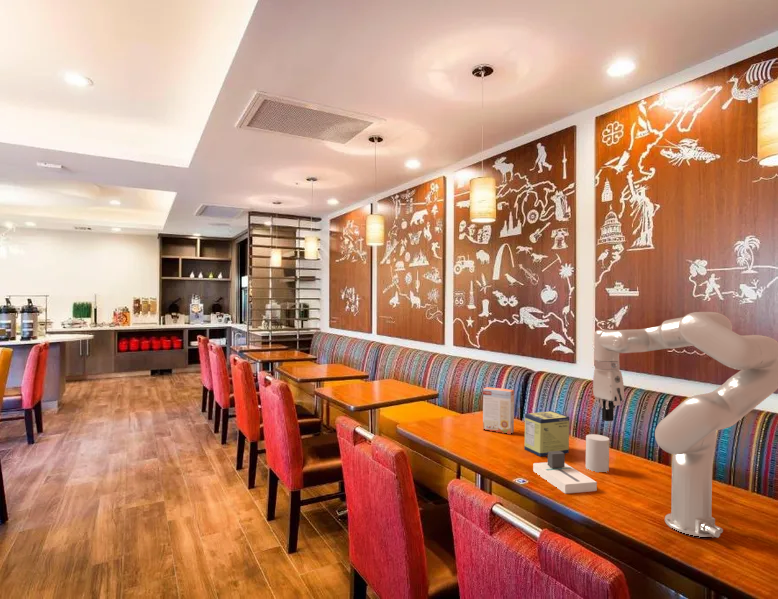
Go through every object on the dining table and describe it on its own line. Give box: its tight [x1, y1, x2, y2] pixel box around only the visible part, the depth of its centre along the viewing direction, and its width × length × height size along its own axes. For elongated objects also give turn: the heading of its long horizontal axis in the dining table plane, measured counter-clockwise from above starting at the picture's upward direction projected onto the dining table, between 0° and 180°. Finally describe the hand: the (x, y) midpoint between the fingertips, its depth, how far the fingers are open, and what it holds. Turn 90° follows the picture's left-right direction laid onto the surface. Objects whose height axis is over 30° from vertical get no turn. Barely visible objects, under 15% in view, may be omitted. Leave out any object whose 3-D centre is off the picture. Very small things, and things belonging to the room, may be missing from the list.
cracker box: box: [482, 386, 515, 435], centre depth 222 cm, size 14×6×21 cm, turn 58°
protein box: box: [523, 410, 570, 458], centre depth 193 cm, size 10×16×16 cm
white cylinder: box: [585, 433, 610, 473], centre depth 173 cm, size 8×8×12 cm
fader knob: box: [547, 451, 566, 468], centre depth 165 cm, size 3×5×5 cm, turn 103°
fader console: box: [532, 461, 598, 494], centre depth 161 cm, size 20×12×3 cm, turn 13°
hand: (607, 420), depth 152 cm, fingers closed
